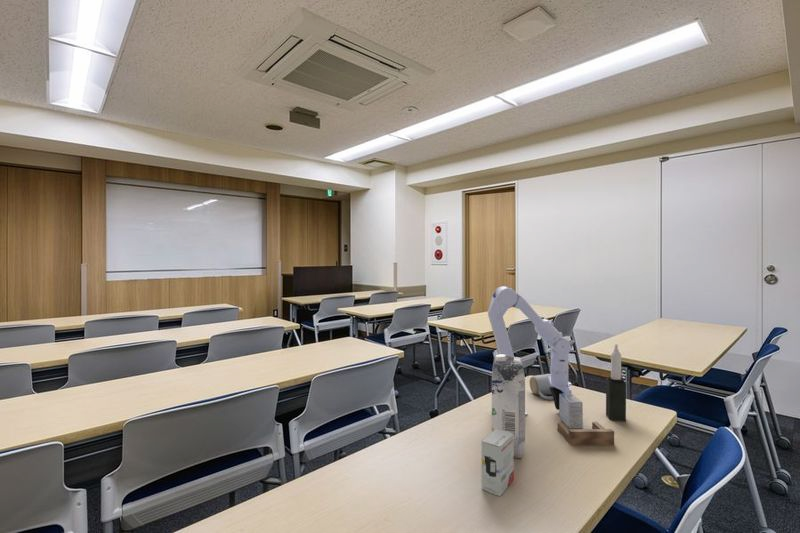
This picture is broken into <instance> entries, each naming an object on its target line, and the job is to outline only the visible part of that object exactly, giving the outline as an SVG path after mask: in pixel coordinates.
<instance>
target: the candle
mask: <svg viewBox="0 0 800 533" xmlns="http://www.w3.org/2000/svg"><path fill="white" fill-rule="evenodd" d="M618 346H619V345H618V344H617V343H616V344H614V348H613V350H612V352H611V353H610V376H608V377H606V378H605V416H607V418H608V419H609V420H610V421H614V422H615V421H617V422H626V421H627V382H626V381H625V378H623V377H622V354H621V352H620V351H619V347H618Z"/></svg>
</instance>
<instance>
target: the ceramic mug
mask: <svg viewBox="0 0 800 533" xmlns="http://www.w3.org/2000/svg"><path fill="white" fill-rule="evenodd" d="M548 376H551V373H545V374H537V375H533V376H531V377H529V378H530V379H529V388H530V390H531V393H533V394H534V395H537V396H540V397H541V398H542V399H544V400H547V401H548V400H549V401H551V400H552V401H553V400H554V399H553V396H547V395H552V393H551V391H550V389H549V387H553V386H551V385H550V382H549V381H548Z"/></svg>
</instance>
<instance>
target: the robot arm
mask: <svg viewBox="0 0 800 533" xmlns="http://www.w3.org/2000/svg"><path fill="white" fill-rule="evenodd" d="M510 308H514V309H518V310H519V311H521V313H522V314H523V315H525V316H526V318H527V319H529V321H530V322H531V323H532V324H534V331H535V333H537V334H538V335H539V337H540V338H541V339H542V340H543V341H544V342H545V343H546V344H547V345H548V348H550V374H551V376H548V381H549V382H550V385H551V386H553V387H549V389H550V391H551V393H552V394H551V395H552V396H553V399H552V400H553V403H554V407H555V409H556V410H558V411H559V394H562V393H564V395H565V396H569V395H570V396H572V394H573V391H572V389H571V388H570V387H571V386H572V385H573V384H572V383H571V381H569V354H570V353H571V350H572V346H571V343H570V341H569V339H567V338H565V337H563V335H564V334H563V332H561V331H558V328H556V327H555V326H554V322H553V321H552V320H549V319H544V318H542V317H541V316H540V315H539V314H538V313H537V311H535V309H534V308H532V306H531V305H530V304H529V302H528V301H527V300H526V299H525V298H523V297H522V296H521V295H520V294H519V293H517V292H516V290H515V289H513V288H509V286H505V285H502V286H498V287H497V288H496V289H495V290H494V292H493V293H492V294H491V300H490V302H489V306H488V310H487V317H488V319H489V323H490V325H491V329H492V333H493V336H494V340H495V343H496V347H497V350H498V353H499V354H504V355H506V356H510V357H515V355H514V350H513V347H512V343H511V341H510V337H509V333H508V331H507V329H508V328H507V326H506V324H505V319H504V315H505V314H506V313H507V311H508V310H510ZM499 354H498V355H499ZM552 396H551V397H552ZM527 415H528V413H527V411H526V410H525V416H527Z"/></svg>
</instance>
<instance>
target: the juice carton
mask: <svg viewBox="0 0 800 533" xmlns="http://www.w3.org/2000/svg"><path fill="white" fill-rule="evenodd" d="M525 411H526V377H525V371H524V365H523V359H522V357H520V356H514V357H510V356H506V355H504V354H496V355H494V358H493V364H492V371H491V433H492V432H493V431H494V430H495V429H500V430H503V431H507V432H511V433H513V434H514V459H516V458H517V459H522V458H523V454H524V450H525V445H526V415H525Z"/></svg>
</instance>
